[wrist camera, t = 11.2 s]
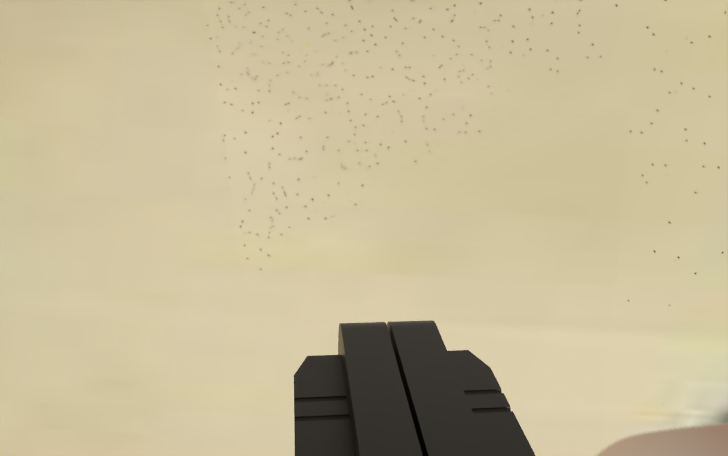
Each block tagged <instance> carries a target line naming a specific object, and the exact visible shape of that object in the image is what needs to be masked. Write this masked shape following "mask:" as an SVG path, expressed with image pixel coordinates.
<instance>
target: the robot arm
mask: <svg viewBox="0 0 728 456" xmlns="http://www.w3.org/2000/svg"><path fill="white" fill-rule="evenodd" d="M294 415H295V456H535V454H534V452H533V450H532V448H531V446H530V444H529V442H528V440H527V438H526V436H525V435H524V433H523V431H522V429H521V427H520V425H519V423H518V421H517V419H516V417H515V415H514V413H513V411H512V412H511V410H510V405H509V403H508V401H507V399H506V397H505V395H504V394H503V393H501V388H500V386H499V384H498V382H497V380H496V378H495V376H494V374H493V372H492V370H491V368H490V367H489V366H487V365H486V364H485V363H484V362H482V361H481V360H480V359H479V358H477V357H476V356H475V355H474V354H472V353H471V352H470V351H468V350H462V351H447V350H446V347H445V345H444V343H443V340H442V338H441V335H440V333H439V331H438V328H437V326H436V324H435V322H434V321H403V322H388V323H387V325H386V323H385V322H375V323H342V324H339V342H338V355H325V356H307V358H306V359H305V360H304V362H303V363H302V365H301V366H300V368H299V369H298V371H297V372H296V373H295V375H294Z"/></svg>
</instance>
